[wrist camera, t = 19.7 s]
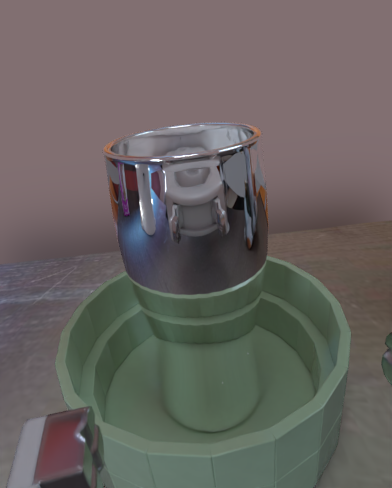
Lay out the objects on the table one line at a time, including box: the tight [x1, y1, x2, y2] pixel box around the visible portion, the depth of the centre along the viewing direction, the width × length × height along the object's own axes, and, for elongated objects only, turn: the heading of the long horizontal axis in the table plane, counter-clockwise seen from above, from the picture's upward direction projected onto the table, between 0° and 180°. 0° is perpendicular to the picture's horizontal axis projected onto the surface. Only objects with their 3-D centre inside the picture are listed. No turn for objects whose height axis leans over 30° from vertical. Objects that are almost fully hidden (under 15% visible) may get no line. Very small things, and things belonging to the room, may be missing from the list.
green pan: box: [55, 256, 351, 488], centre depth 20 cm, size 15×15×6 cm
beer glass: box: [103, 122, 268, 432], centre depth 18 cm, size 7×7×15 cm
